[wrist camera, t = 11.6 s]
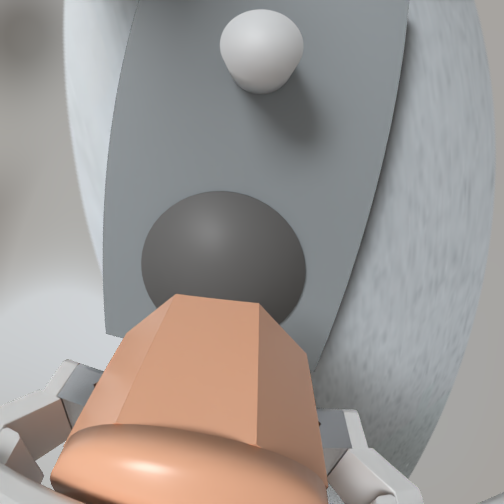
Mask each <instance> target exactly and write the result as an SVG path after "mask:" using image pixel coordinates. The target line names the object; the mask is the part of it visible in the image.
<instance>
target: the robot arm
mask: <svg viewBox="0 0 504 504" xmlns="http://www.w3.org/2000/svg"><path fill="white" fill-rule="evenodd" d="M103 372H104V371H101V370H98V369H95V368H92V367H89V366H86V365H83V364H80V363H77V362H74V361H71V360H69V359H67V360H65V361H63V362H62V364H61V365H60V367H59V368H58V369H57V371H56V372H55V374H54V375H53V377H52V378H51V379H50V381H49V382H48V384H47V385H46V387H45V388H44V390H43V391H41V390H37V391H35V392H32V393H30V394H28V395H25V396H23V397H21V398H18V399H16V400H13V401H11V402H9V403H6V404H4V405H1V406H0V504H85V503H82V502H80V501H77V500H75V499H72V498H70V497H68V496H65V495H63V494H61V493H58V492H56V491H54V490H52V489H50V488H47V487H45V486H43V485H41V482H42V480H43V477H44V475H43V472H42V471H41V469H40V468H39V466H38V465H37V463H36V462H35V461H36V460H37V459H39V458H40V457H42V456H43V455H45V454H46V453H48V452H49V451H51V450H52V449H54V448H55V447H57V446H58V445H60V444H61V443H63V442H65V441H66V440H67V438H68V436H69V434H70V432H71V431H72V429H73V427H74V425H75V423H76V421H77V419H78V417H79V416H80V414H81V412H82V410H83V408H84V406H85V404H86V403H87V401H88V399H89V397H90V395H91V394H92V392H93V390H94V388H95V386H96V385H97V383H98V381H99V379H100V378H101V376H102V374H103ZM316 411H317V417H318V423H319V429H320V435H321V442H322V448H323V454H324V461H325V468H326V475H327V481H328V483H329V484H330V485H331V486H332V488H333V489H334V490H335V491H336V493H337V494H338V495H339V496H340V498H341V499H342V500H343V501H344V503H345V504H424V501H423V498H422V495H421V492H420V489H419V488H418V487H417V486H416V485H415V484H413V483H412V482H411V481H410V480H409V479H408V478H406V477H405V476H404V475H403V474H402V473H401V472H399V471H398V470H397V469H396V468H395V467H394V466H392V465H391V464H390V463H389V462H388V461H387V460H386V459H384V458H383V457H382V456H381V455H380V454H379V453H378V452H377V451H375V450H374V449H373V448H368V444H367V441H366V438H365V434H364V431H363V427H362V424H361V421H360V417H359V414H358V412H357V410H355V409H324V408H316ZM477 504H504V492H503V493H501V494H499V495H496V496H494V497H492V498H489V499H487V500H485V501H482V502H480V503H477Z"/></svg>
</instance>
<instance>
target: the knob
mask: <svg viewBox="0 0 504 504" xmlns="http://www.w3.org/2000/svg"><path fill="white" fill-rule="evenodd" d="M50 481H51V485H52V486H53V488H54V490H55V491H56V492H58V493H61V494H63V495H65V496H68V497H70V498H72V499H75V500H77V501H80V502H82V503H85V504H328V498H327V491H326V489H327V488H328V481H327V475H326V468H325V461H324V454H323V448H322V442H321V435H320V429H319V423H318V417H317V411H316V405H315V399H314V393H313V387H312V381H311V376H310V370H309V364H308V359H307V353H305V352H304V351H303V350H302V348H301V347H300V346H299V345H298V344H297V343H296V342H295V341H294V340H293V339H292V338H291V337H290V336H289V335H288V334H287V333H286V332H285V331H284V329H283V328H282V327H281V326H280V325H279V324H278V323H277V322H276V321H275V320H274V319H273V318H272V317H271V316H270V315H269V313H268V312H267V311H266V310H265V309H264V308H263V307H262V306H261V305H260V304H259V303H252V302H242V301H233V300H224V299H215V298H206V297H197V296H189V295H181V294H175V295H174V296H173V297H171V298H170V299H169V300H168V301H166V302H165V303H164V304H162V305H161V306H160V307H159V308H157V309H156V310H155V311H154V312H152V313H151V314H150V315H149V316H147V317H146V318H145V319H144V320H142V321H141V322H140V323H138V324H137V325H136V326H135V327H133V328H132V329H131V330H130V331H128V332H127V333H126V335H125V337H124V338H123V340H122V342H121V343H120V345H119V347H118V348H117V350H116V352H115V353H114V355H113V357H112V359H111V360H110V362H109V364H108V366H107V367H106V369H105V371H104V372H103V374H102V376H101V378H100V379H99V381H98V383H97V385H96V386H95V388H94V390H93V392H92V394H91V395H90V397H89V399H88V401H87V403H86V404H85V406H84V408H83V410H82V412H81V414H80V416H79V417H78V419H77V421H76V423H75V425H74V427H73V429H72V431H71V432H70V434H69V436H68V438H67V440H66V442H65V444H64V448H63V450H62V452H61V454H60V456H59V458H58V460H57V462H56V464H55V466H54V468H53V470H52V472H51V476H50Z"/></svg>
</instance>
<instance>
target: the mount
mask: <svg viewBox="0 0 504 504" xmlns="http://www.w3.org/2000/svg"><path fill="white" fill-rule="evenodd" d="M408 9H409V0H139V2H138V5H137V8H136V12H135V15H134V19H133V23H132V26H131V30H130V34H129V38H128V42H127V46H126V50H125V55H124V59H123V64H122V69H121V74H120V79H119V84H118V89H117V95H116V101H115V107H114V113H113V120H112V127H111V134H110V142H109V151H108V161H107V171H106V184H105V199H104V219H103V290H104V312H105V327H106V334H109V335H113V336H116V337H120V338H124V337H125V335H126V333H127V332H128V331H130V330H131V329H132V328H133V327H135V326H136V325H137V324H138V323H140V322H141V321H142V320H144V319H145V318H146V317H147V316H149V315H150V314H151V313H152V312H154V311H155V310H156V309H157V308H159V307H160V306H161V305H162V304H164V303H165V302H166V301H168V300H169V299H170V298H171V297H173V296H174V295H175V294H181V295H189V296H197V297H206V298H215V299H224V300H233V301H242V302H252V303H259V304H260V305H261V306H262V307H263V308H264V309H265V310H266V311H267V312H268V313H269V315H270V316H271V317H272V318H273V319H274V320H275V321H276V322H277V323H278V324H279V325H280V326H281V327H282V328H283V329H284V331H285V332H286V333H287V334H288V335H289V336H290V337H291V338H292V339H293V340H294V341H295V342H296V343H297V344H298V345H299V346H300V347H301V348H302V350H303V351H304V352H305V353H307V359H308V364H309V370H310V371H313V372H314V371H315V369H316V366H317V364H318V361H319V359H320V357H321V354H322V352H323V349H324V346H325V344H326V341H327V339H328V336H329V334H330V331H331V328H332V326H333V323H334V320H335V318H336V315H337V312H338V309H339V307H340V304H341V301H342V298H343V295H344V292H345V290H346V287H347V284H348V281H349V278H350V275H351V272H352V269H353V266H354V262H355V259H356V256H357V253H358V250H359V247H360V243H361V240H362V237H363V233H364V230H365V227H366V223H367V220H368V216H369V213H370V209H371V205H372V202H373V198H374V194H375V191H376V187H377V183H378V179H379V175H380V171H381V167H382V163H383V158H384V154H385V150H386V145H387V141H388V136H389V132H390V127H391V122H392V117H393V112H394V107H395V102H396V96H397V91H398V85H399V79H400V73H401V66H402V59H403V52H404V45H405V37H406V29H407V19H408Z"/></svg>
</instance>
